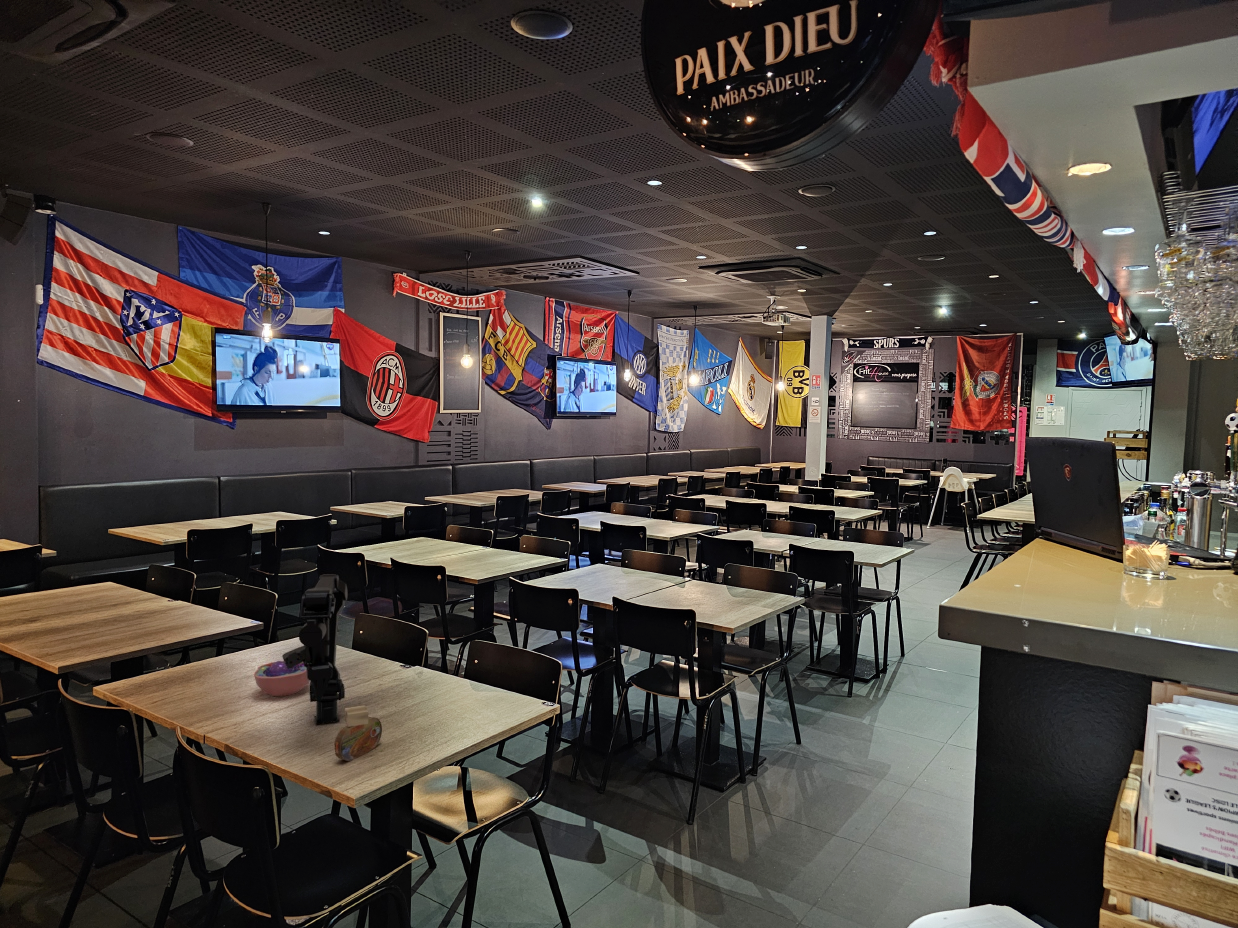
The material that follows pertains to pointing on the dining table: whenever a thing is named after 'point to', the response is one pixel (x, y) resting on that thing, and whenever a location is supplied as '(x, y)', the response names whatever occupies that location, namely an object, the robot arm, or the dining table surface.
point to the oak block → (356, 716)
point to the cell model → (281, 678)
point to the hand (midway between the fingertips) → (317, 694)
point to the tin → (358, 739)
